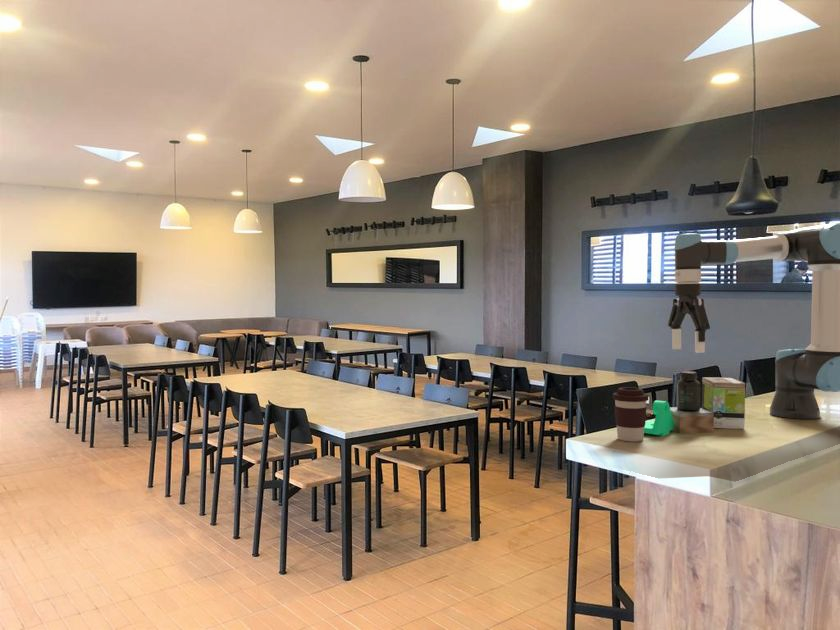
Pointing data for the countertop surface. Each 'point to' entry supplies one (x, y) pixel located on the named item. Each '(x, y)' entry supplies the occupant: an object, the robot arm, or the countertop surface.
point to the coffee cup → (630, 413)
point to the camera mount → (660, 419)
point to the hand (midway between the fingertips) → (687, 350)
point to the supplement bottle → (688, 392)
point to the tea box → (724, 401)
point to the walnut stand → (692, 421)
